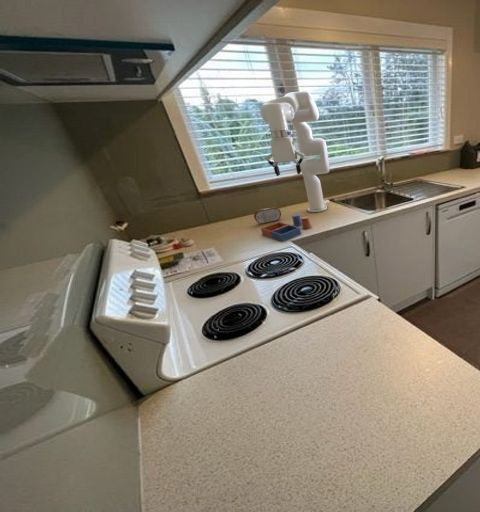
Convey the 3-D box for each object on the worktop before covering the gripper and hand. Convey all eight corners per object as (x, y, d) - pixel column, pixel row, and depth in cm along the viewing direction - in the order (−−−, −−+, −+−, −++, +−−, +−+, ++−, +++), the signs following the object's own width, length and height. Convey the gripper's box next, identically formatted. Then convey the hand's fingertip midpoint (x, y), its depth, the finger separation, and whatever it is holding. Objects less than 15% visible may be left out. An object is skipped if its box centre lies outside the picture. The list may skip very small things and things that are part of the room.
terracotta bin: (280, 227, 165) (279, 221, 163) (290, 230, 160) (289, 224, 158) (262, 234, 157) (260, 228, 156) (272, 237, 152) (270, 231, 150)
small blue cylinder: (298, 223, 169) (296, 213, 167) (303, 224, 167) (301, 214, 164) (292, 225, 166) (290, 215, 164) (297, 227, 164) (295, 216, 161)
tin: (281, 218, 180) (278, 204, 176) (283, 219, 177) (279, 206, 174) (256, 224, 173) (252, 210, 169) (257, 225, 171) (253, 211, 167)
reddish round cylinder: (307, 225, 165) (305, 215, 162) (312, 227, 162) (310, 216, 159) (301, 228, 162) (299, 217, 159) (306, 229, 159) (304, 219, 156)
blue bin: (290, 230, 159) (289, 224, 158) (301, 233, 154) (299, 227, 153) (272, 237, 152) (270, 231, 150) (282, 241, 147) (281, 235, 145)
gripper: (301, 132, 132) (308, 171, 140) (263, 135, 132) (272, 174, 140) (297, 134, 126) (305, 174, 133) (257, 137, 126) (267, 177, 133)
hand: (288, 174), depth 137 cm, fingers open, 9 cm apart
